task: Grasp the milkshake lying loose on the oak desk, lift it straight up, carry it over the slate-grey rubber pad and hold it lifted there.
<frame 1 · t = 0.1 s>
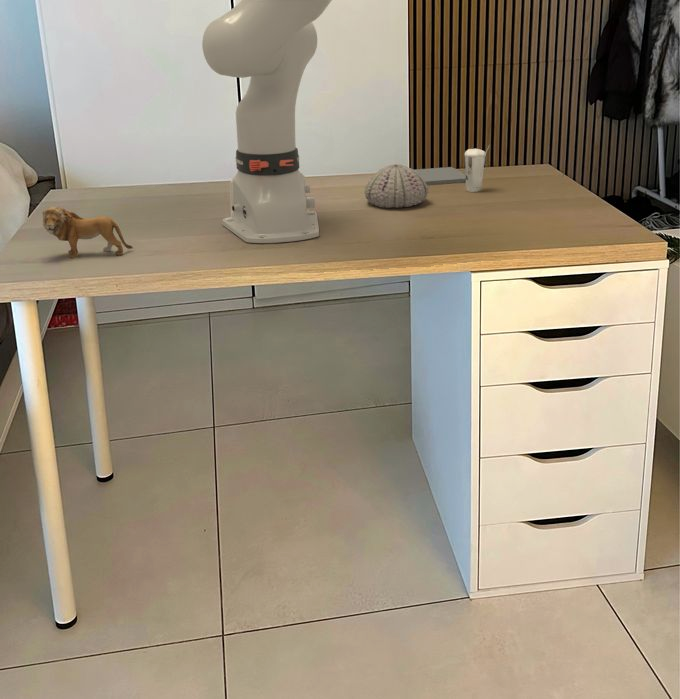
lion figurine: (88, 256, 162), on the table
milkshake: (475, 191, 201), on the table
sea urchin shell: (395, 204, 192), on the table
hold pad: (435, 177, 214), on the table
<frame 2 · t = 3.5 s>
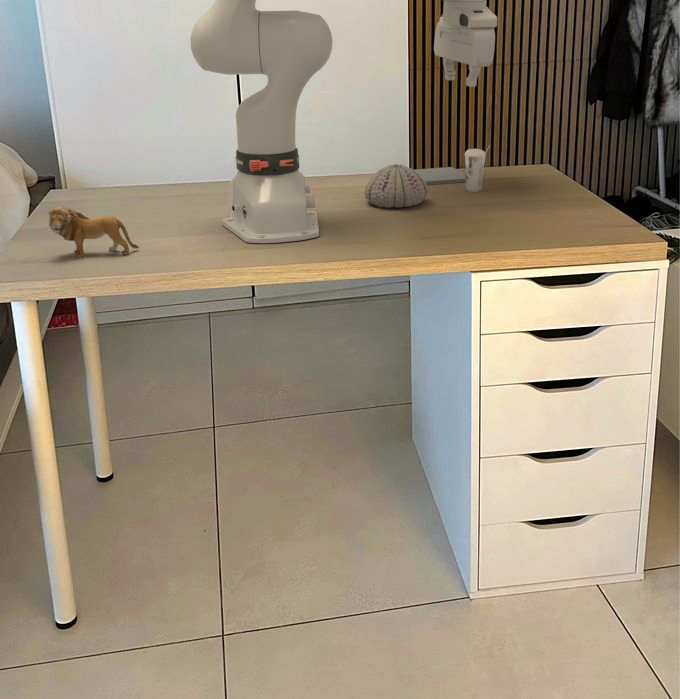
hand: (460, 83, 197), 22 cm above the table, tool pointing down, fingers open, 8 cm apart
lion figurine: (94, 256, 162), on the table
everything else where it was.
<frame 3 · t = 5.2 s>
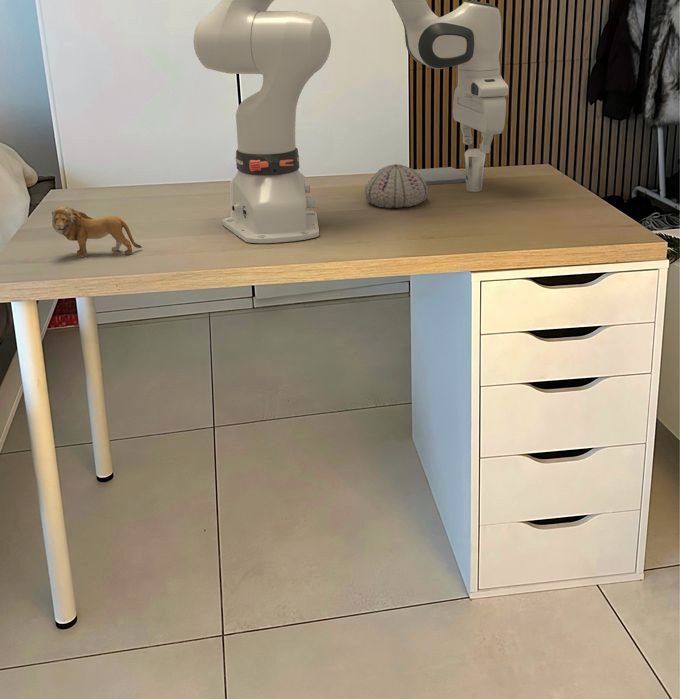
hand: (476, 148, 198), 9 cm above the table, tool pointing down, fingers open, 8 cm apart
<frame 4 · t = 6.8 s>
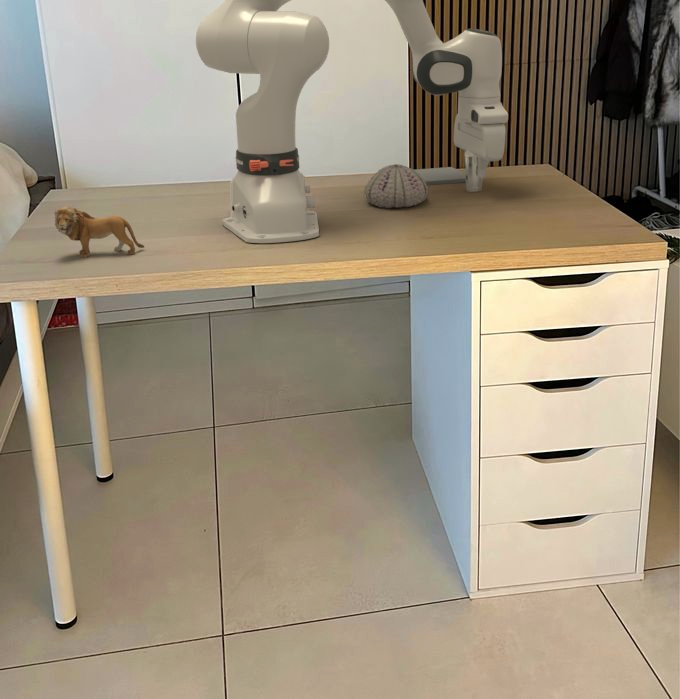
hand: (476, 174, 200), 4 cm above the table, tool pointing down, fingers closed on milkshake, 4 cm apart
milkshake: (475, 191, 201), on the table, touching gripper
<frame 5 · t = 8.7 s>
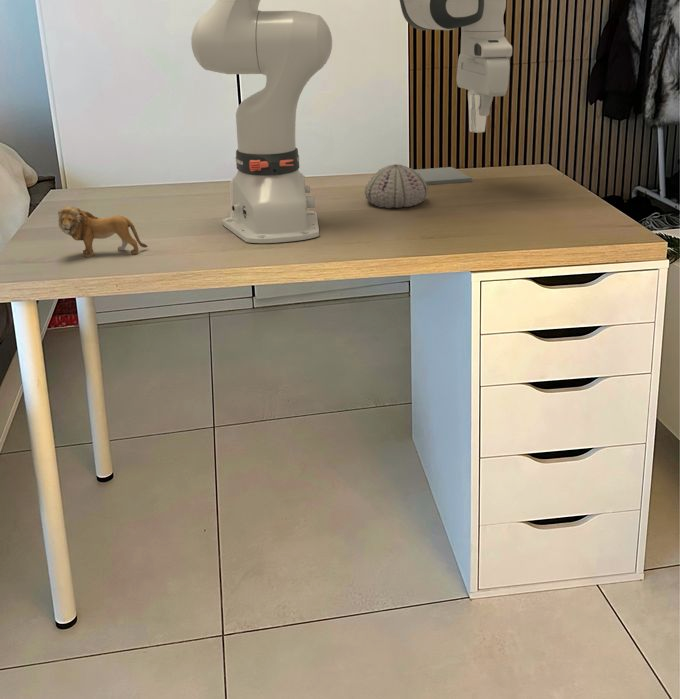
hand: (479, 113, 194), 17 cm above the table, tool pointing down, fingers closed on milkshake, 4 cm apart
milkshake: (478, 132, 195), point 13 cm above the table, touching gripper
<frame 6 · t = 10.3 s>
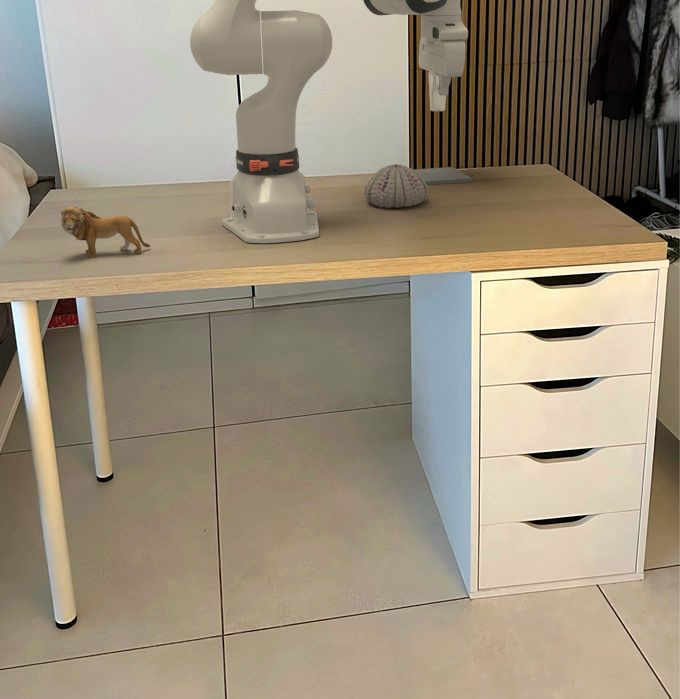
hand: (439, 93, 205), 19 cm above the table, tool pointing down, fingers closed on milkshake, 4 cm apart
milkshake: (439, 111, 207), point 15 cm above the table, touching gripper
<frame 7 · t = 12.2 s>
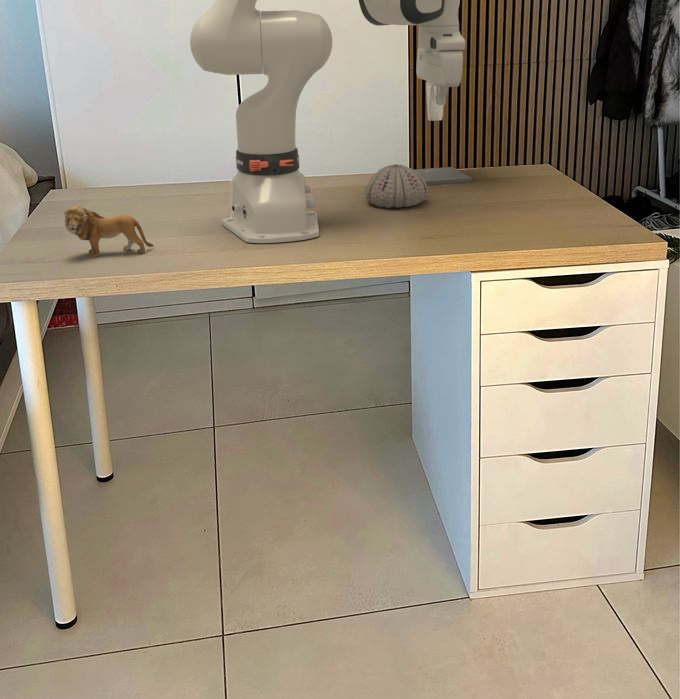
hand: (436, 103, 207), 17 cm above the table, tool pointing down, fingers closed on milkshake, 4 cm apart
milkshake: (436, 120, 208), point 13 cm above the table, touching gripper
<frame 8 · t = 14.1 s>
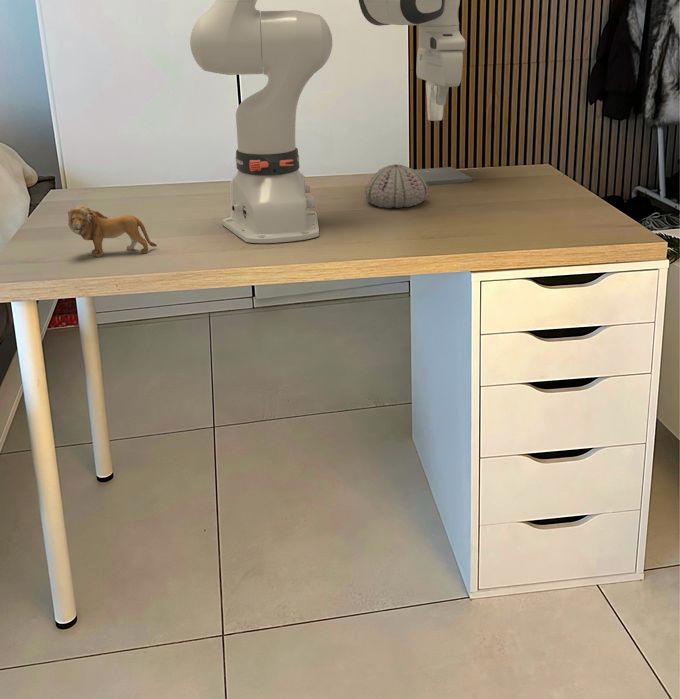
hand: (436, 103, 207), 17 cm above the table, tool pointing down, fingers closed on milkshake, 4 cm apart
milkshake: (436, 120, 208), point 13 cm above the table, touching gripper
at the end: the gripper is holding milkshake; milkshake point 13.1 cm above the table; milkshake inside the target area (0.2 cm from its centre), point 13.1 cm above the table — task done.
